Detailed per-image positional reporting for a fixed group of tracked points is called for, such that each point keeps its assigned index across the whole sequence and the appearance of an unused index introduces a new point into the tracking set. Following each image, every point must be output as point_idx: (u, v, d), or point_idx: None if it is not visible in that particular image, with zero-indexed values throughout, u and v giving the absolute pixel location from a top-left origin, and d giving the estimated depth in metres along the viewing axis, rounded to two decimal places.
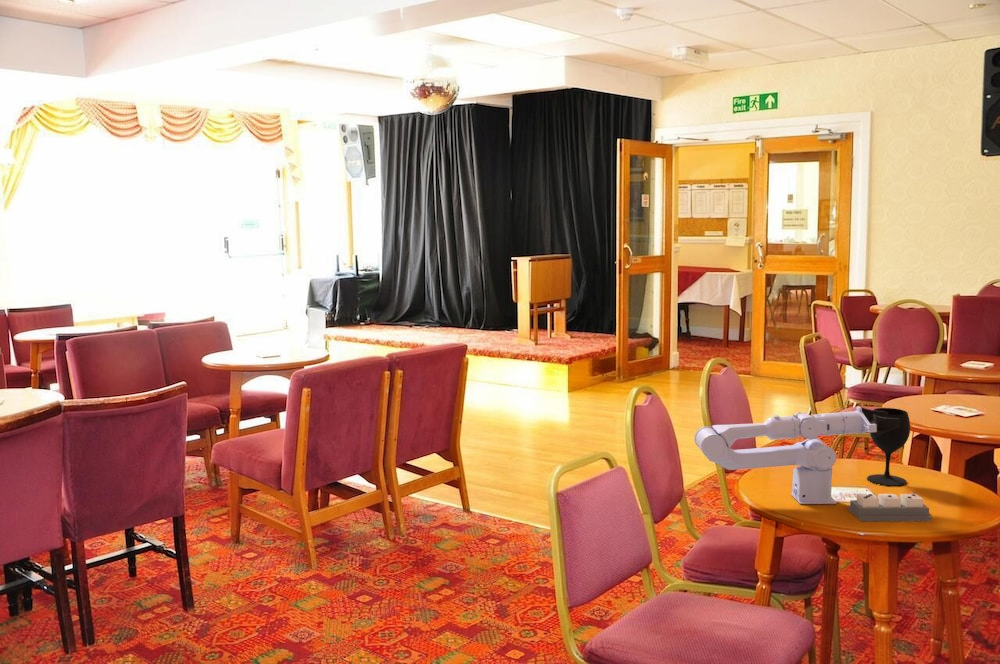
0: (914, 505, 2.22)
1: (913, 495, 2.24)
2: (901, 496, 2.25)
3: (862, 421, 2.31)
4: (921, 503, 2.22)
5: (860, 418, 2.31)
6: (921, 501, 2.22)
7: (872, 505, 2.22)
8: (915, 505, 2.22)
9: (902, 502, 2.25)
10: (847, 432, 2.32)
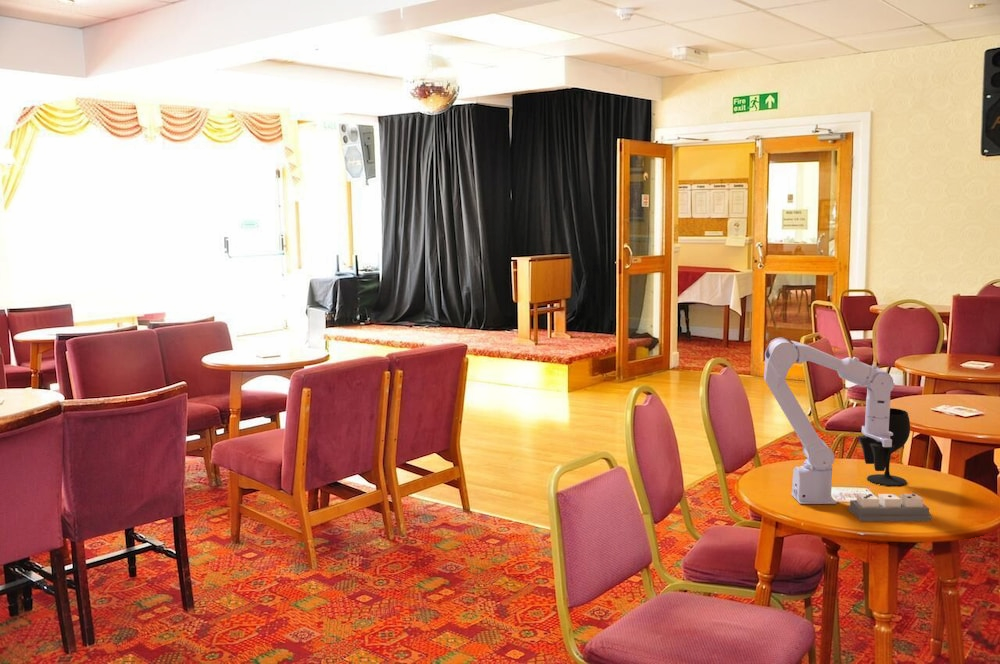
0: (914, 505, 2.22)
1: (913, 495, 2.24)
2: (901, 496, 2.25)
3: (884, 435, 2.29)
4: (921, 503, 2.22)
5: (886, 433, 2.30)
6: (921, 501, 2.22)
7: (872, 505, 2.22)
8: (915, 505, 2.22)
9: (902, 502, 2.25)
10: (872, 421, 2.30)
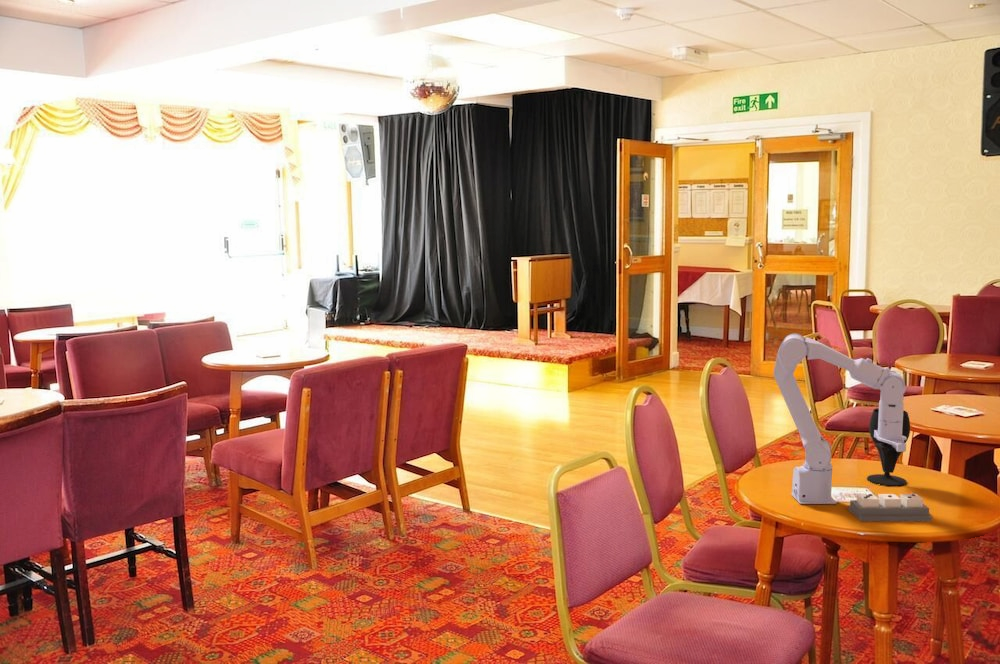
0: (914, 505, 2.22)
1: (913, 495, 2.24)
2: (901, 496, 2.25)
3: (897, 439, 2.26)
4: (921, 503, 2.22)
5: (899, 438, 2.26)
6: (921, 501, 2.22)
7: (872, 505, 2.22)
8: (915, 505, 2.22)
9: (902, 502, 2.25)
10: (885, 425, 2.26)
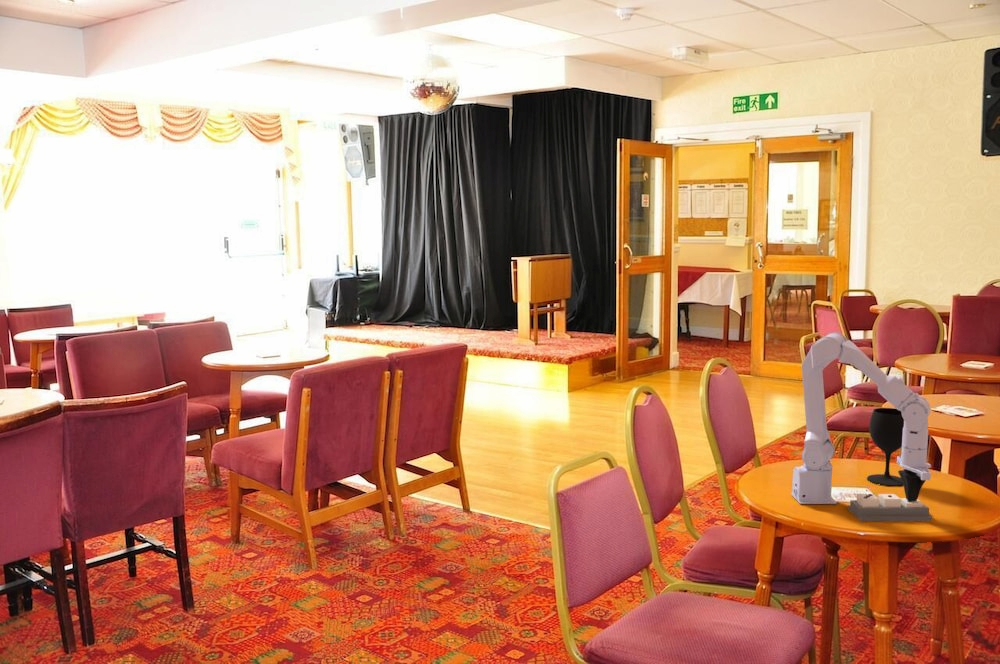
0: None
1: None
2: (901, 500, 2.25)
3: (922, 467, 2.20)
4: None
5: (924, 465, 2.20)
6: (921, 505, 2.22)
7: (872, 505, 2.22)
8: None
9: None
10: (909, 452, 2.21)
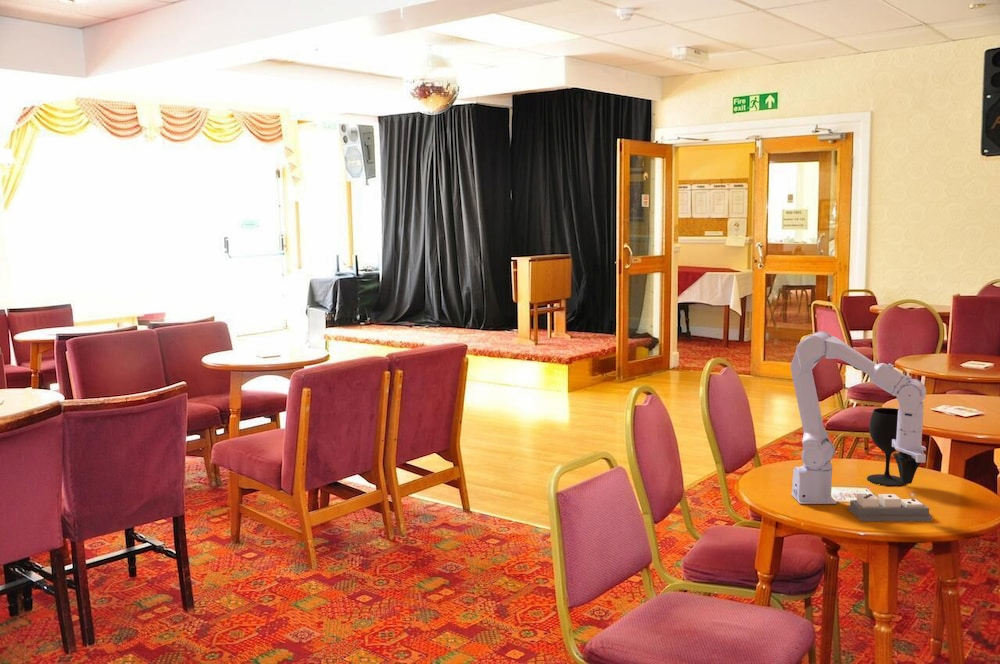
0: None
1: (913, 500, 2.25)
2: (901, 501, 2.25)
3: (916, 450, 2.19)
4: None
5: (919, 448, 2.20)
6: (921, 506, 2.22)
7: (872, 505, 2.22)
8: None
9: None
10: (904, 435, 2.20)
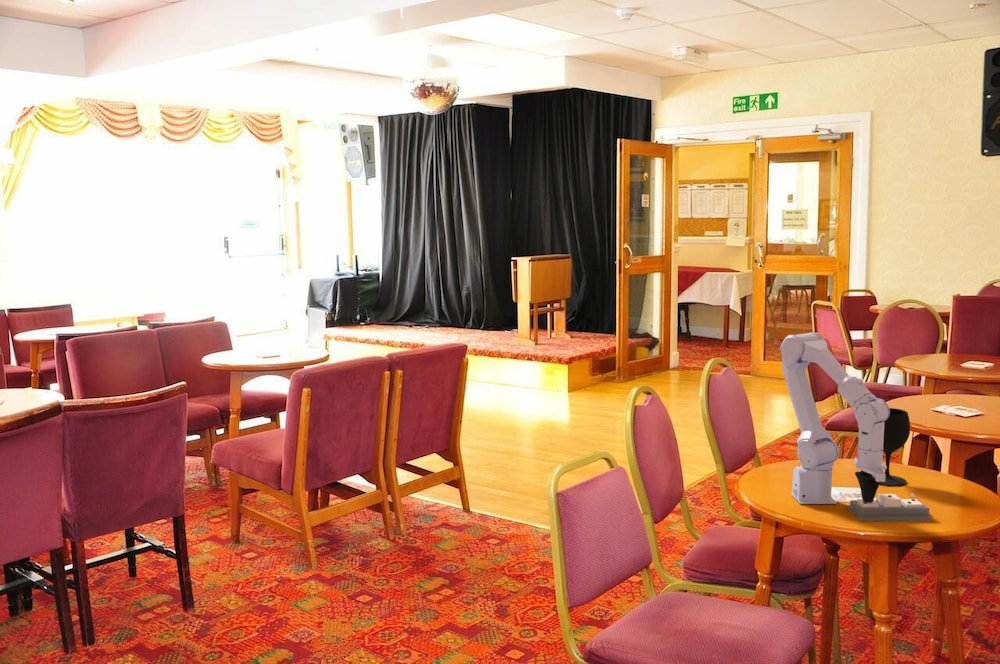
0: None
1: (913, 500, 2.25)
2: (901, 501, 2.25)
3: (877, 469, 2.20)
4: None
5: (879, 467, 2.21)
6: (921, 506, 2.22)
7: None
8: None
9: None
10: (864, 454, 2.21)
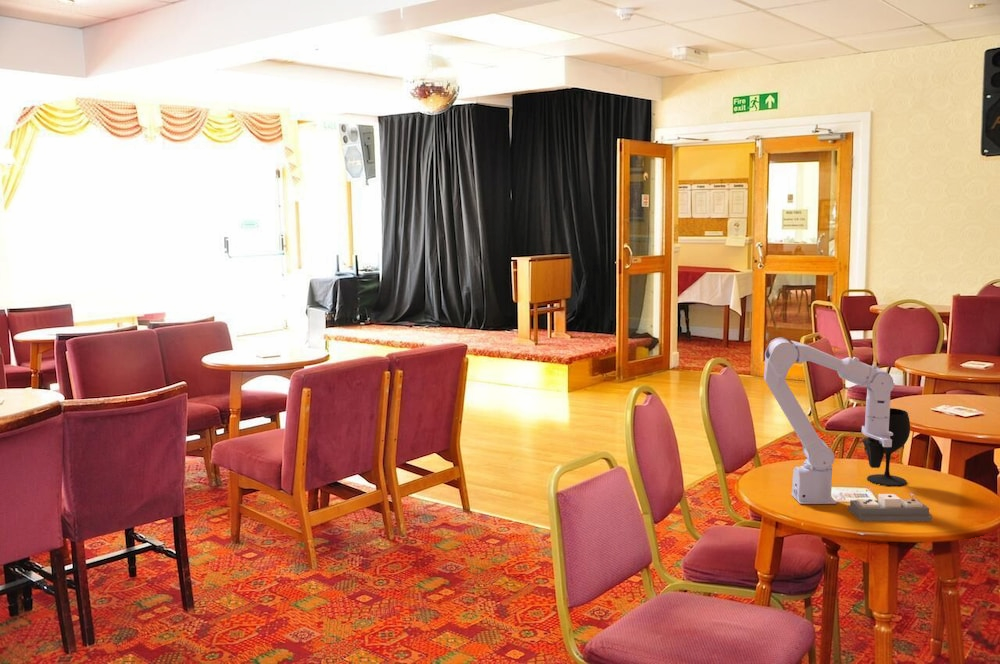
0: None
1: (913, 500, 2.25)
2: (901, 501, 2.25)
3: (884, 435, 2.29)
4: None
5: (886, 433, 2.30)
6: (921, 506, 2.22)
7: None
8: None
9: None
10: (872, 421, 2.30)
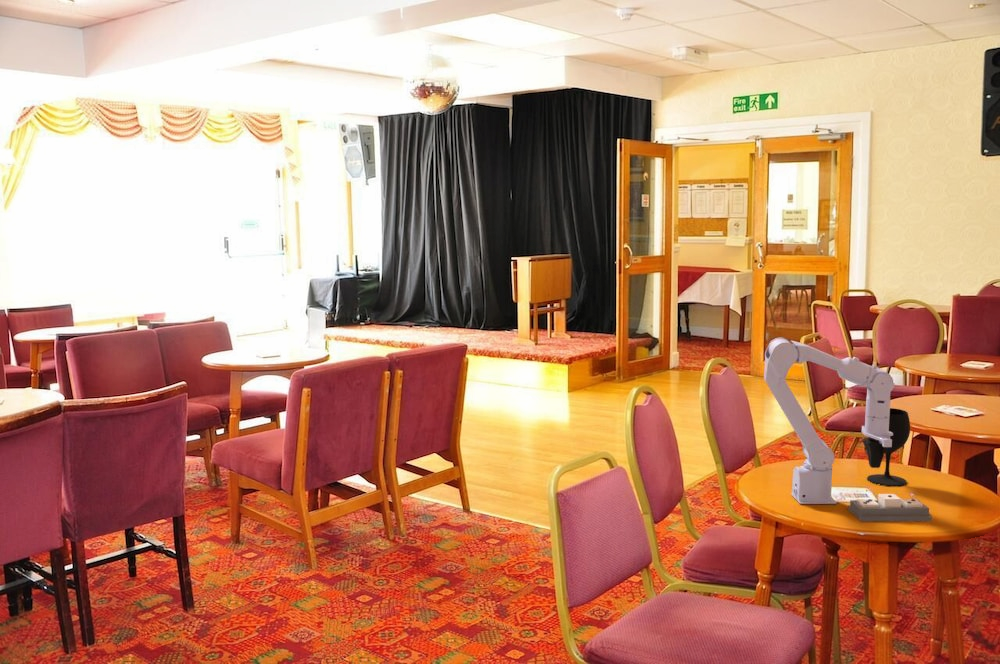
0: None
1: (913, 500, 2.25)
2: (901, 501, 2.25)
3: (884, 435, 2.29)
4: None
5: (886, 433, 2.30)
6: (921, 506, 2.22)
7: None
8: None
9: None
10: (872, 421, 2.30)
